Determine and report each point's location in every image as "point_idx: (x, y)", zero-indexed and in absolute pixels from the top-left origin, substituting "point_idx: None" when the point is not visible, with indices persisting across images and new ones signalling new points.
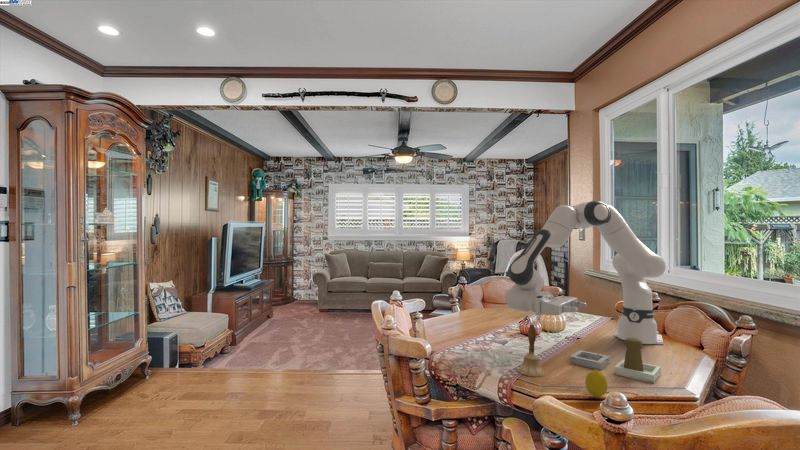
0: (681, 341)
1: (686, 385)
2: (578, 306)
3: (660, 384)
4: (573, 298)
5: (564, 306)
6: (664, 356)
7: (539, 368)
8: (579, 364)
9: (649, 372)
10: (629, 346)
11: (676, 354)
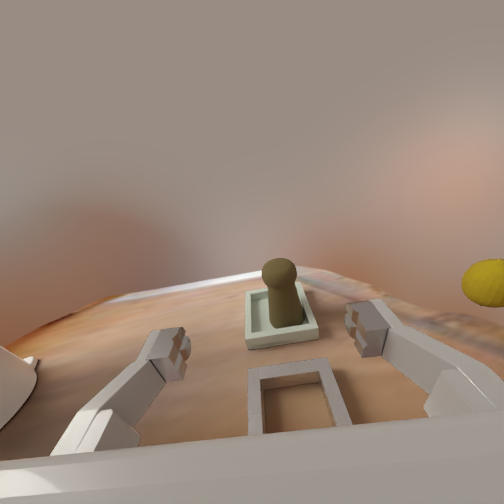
0: (9, 346)
1: None
2: (136, 419)
3: None
4: (1, 485)
5: (498, 377)
6: (134, 329)
7: None
8: None
9: (264, 304)
10: (296, 274)
11: (113, 323)
